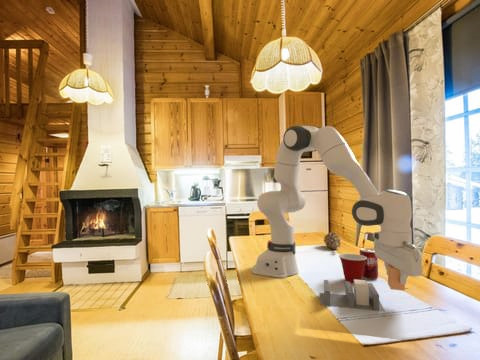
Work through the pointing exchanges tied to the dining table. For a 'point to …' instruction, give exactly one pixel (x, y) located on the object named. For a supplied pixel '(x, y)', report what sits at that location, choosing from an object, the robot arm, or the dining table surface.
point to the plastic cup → (352, 266)
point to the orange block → (394, 279)
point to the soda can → (370, 263)
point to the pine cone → (332, 240)
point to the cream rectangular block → (361, 292)
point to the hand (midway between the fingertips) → (396, 279)
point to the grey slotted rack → (350, 298)
